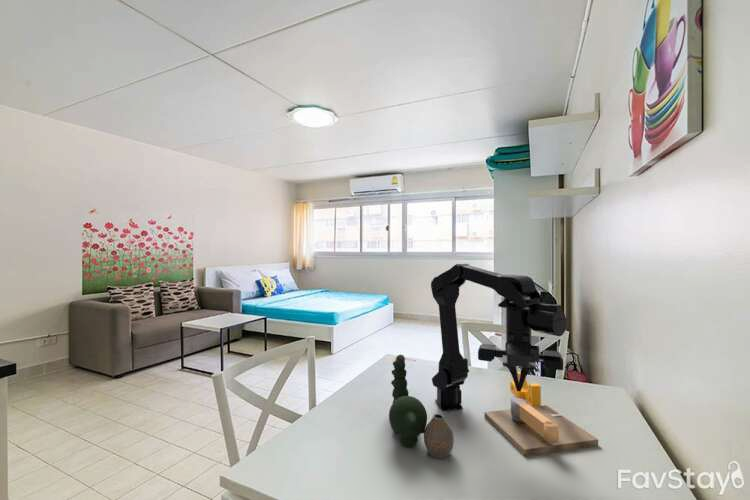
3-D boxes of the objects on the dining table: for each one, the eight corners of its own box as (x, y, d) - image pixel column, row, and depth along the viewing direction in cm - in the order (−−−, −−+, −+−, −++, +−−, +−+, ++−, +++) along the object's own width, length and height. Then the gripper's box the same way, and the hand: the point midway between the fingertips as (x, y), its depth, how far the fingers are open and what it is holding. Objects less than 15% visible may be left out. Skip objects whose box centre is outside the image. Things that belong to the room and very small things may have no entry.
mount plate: (524, 455, 77) (524, 444, 77) (484, 417, 95) (484, 407, 95) (598, 445, 81) (598, 434, 81) (546, 410, 99) (546, 401, 99)
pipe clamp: (510, 390, 113) (510, 371, 113) (523, 390, 113) (523, 371, 113) (526, 407, 101) (526, 386, 101) (540, 407, 101) (540, 386, 101)
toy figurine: (383, 416, 99) (392, 461, 75) (382, 351, 101) (391, 374, 76) (415, 415, 100) (434, 460, 75) (413, 350, 102) (432, 373, 77)
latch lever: (507, 411, 92) (507, 398, 92) (521, 409, 93) (521, 397, 93) (547, 444, 77) (547, 429, 77) (564, 441, 78) (563, 426, 78)
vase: (455, 447, 81) (455, 411, 81) (452, 465, 74) (451, 426, 74) (426, 442, 83) (426, 407, 83) (421, 459, 76) (421, 421, 76)
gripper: (474, 331, 78) (475, 397, 79) (565, 339, 71) (566, 413, 71) (480, 321, 89) (480, 380, 89) (560, 328, 81) (560, 392, 81)
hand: (518, 390), depth 82 cm, fingers closed
